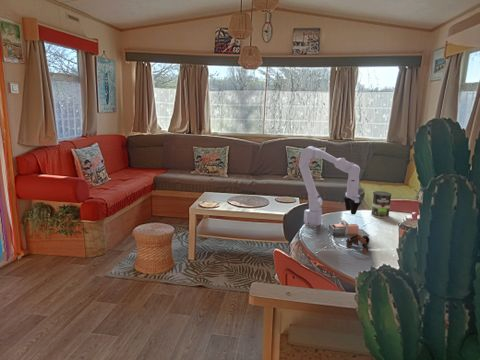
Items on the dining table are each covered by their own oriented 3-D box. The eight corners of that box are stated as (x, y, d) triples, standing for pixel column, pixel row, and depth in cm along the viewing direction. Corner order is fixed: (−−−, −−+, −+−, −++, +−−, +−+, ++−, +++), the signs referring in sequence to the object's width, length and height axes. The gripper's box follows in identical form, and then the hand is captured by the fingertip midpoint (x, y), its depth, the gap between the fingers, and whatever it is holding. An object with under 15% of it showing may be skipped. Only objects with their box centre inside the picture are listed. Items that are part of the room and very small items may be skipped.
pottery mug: (362, 257, 159) (353, 240, 159) (347, 258, 167) (339, 242, 168) (378, 245, 165) (370, 229, 165) (363, 247, 173) (355, 231, 173)
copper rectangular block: (335, 233, 183) (336, 226, 182) (333, 231, 186) (333, 224, 185) (358, 233, 184) (358, 226, 183) (355, 231, 187) (356, 224, 186)
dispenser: (333, 238, 180) (334, 224, 178) (327, 231, 190) (328, 218, 188) (370, 237, 181) (371, 224, 179) (362, 230, 191) (363, 218, 189)
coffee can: (390, 218, 211) (393, 195, 208) (372, 217, 213) (375, 194, 210) (386, 213, 221) (389, 191, 218) (369, 212, 223) (371, 190, 220)
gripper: (365, 190, 180) (363, 216, 183) (355, 184, 194) (353, 208, 197) (352, 190, 180) (350, 216, 183) (342, 184, 194) (340, 208, 197)
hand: (350, 212), depth 190 cm, fingers open, 7 cm apart
